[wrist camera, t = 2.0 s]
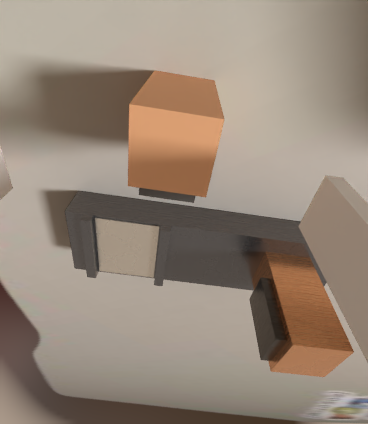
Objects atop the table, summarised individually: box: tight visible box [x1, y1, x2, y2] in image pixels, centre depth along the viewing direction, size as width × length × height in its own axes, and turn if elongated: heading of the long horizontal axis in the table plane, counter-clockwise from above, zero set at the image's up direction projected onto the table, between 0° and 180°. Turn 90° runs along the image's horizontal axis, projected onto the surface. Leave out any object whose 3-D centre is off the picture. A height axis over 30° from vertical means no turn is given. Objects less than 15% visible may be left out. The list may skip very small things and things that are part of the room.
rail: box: [65, 191, 354, 377], centre depth 21 cm, size 7×24×11 cm, turn 82°
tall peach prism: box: [128, 71, 224, 203], centre depth 15 cm, size 4×5×8 cm
